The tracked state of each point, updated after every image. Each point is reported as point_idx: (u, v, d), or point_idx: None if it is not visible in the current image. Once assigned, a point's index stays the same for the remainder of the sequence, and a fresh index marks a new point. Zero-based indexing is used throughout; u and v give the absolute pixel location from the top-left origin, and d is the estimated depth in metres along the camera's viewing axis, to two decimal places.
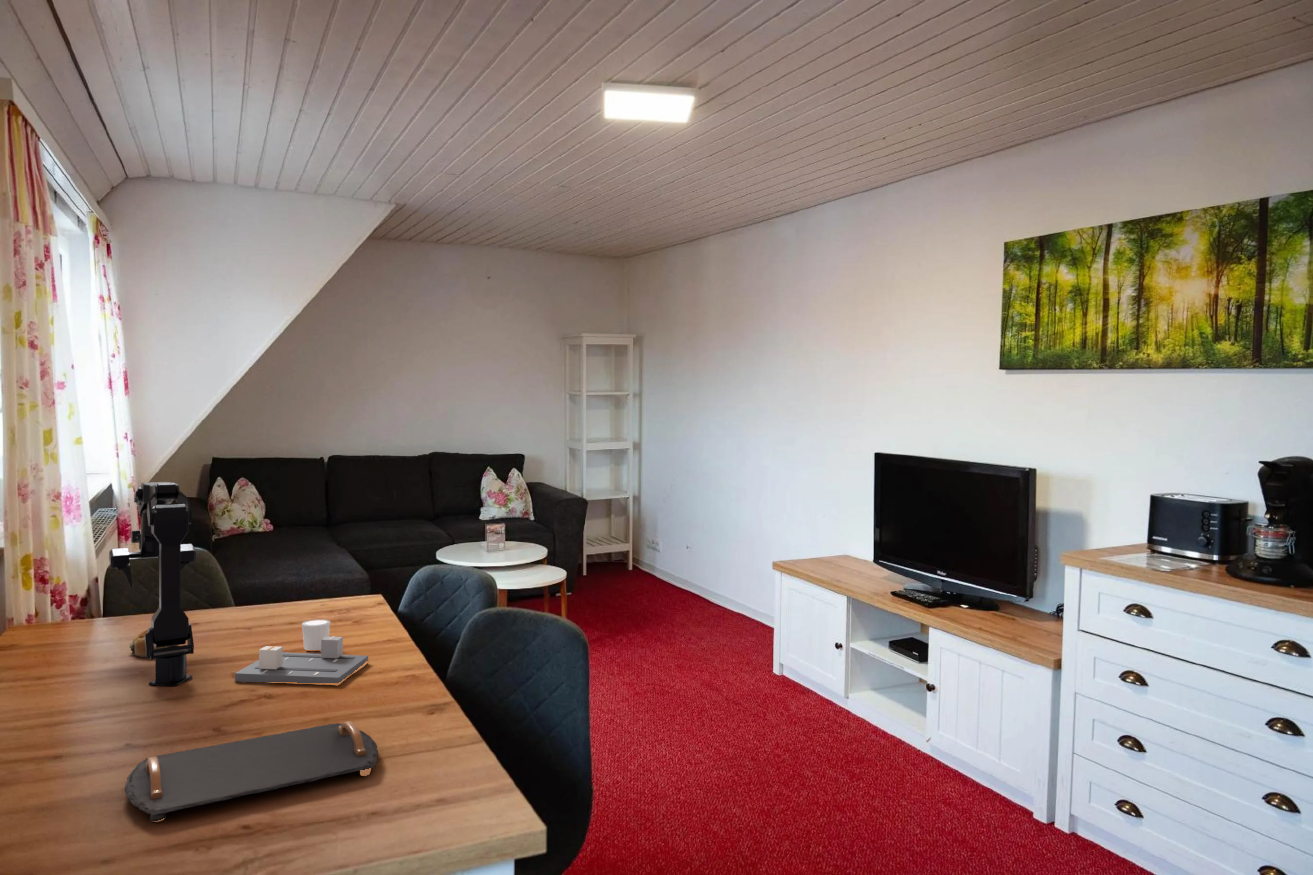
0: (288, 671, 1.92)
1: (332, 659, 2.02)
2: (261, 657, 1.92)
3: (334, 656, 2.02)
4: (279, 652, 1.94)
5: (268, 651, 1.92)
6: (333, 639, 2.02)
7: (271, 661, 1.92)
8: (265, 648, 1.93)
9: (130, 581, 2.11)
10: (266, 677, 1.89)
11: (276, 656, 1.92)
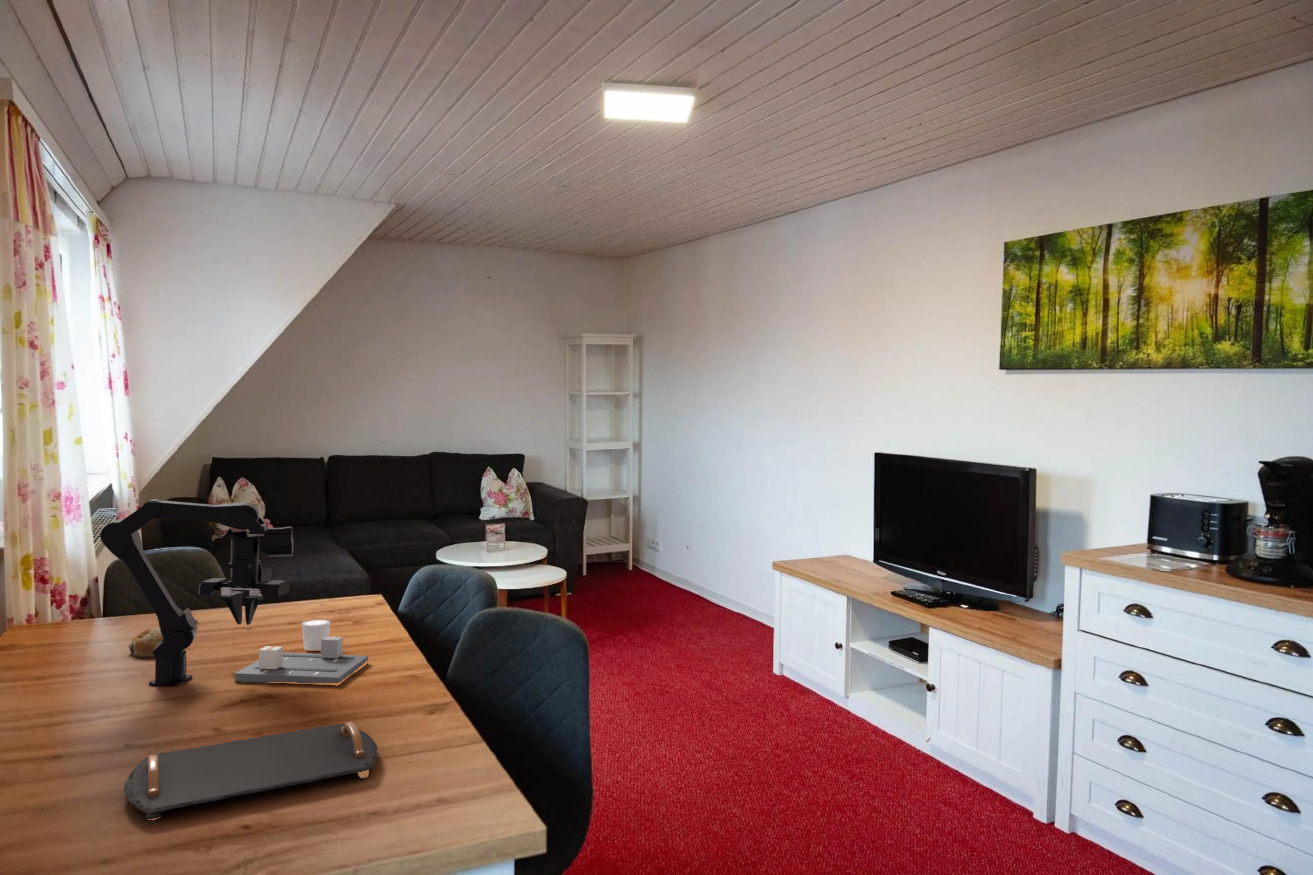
0: (288, 671, 1.92)
1: (332, 659, 2.02)
2: (261, 657, 1.92)
3: (334, 656, 2.02)
4: (279, 652, 1.94)
5: (268, 651, 1.92)
6: (333, 639, 2.02)
7: (271, 661, 1.92)
8: (265, 648, 1.93)
9: (234, 615, 1.92)
10: (266, 677, 1.89)
11: (276, 656, 1.92)
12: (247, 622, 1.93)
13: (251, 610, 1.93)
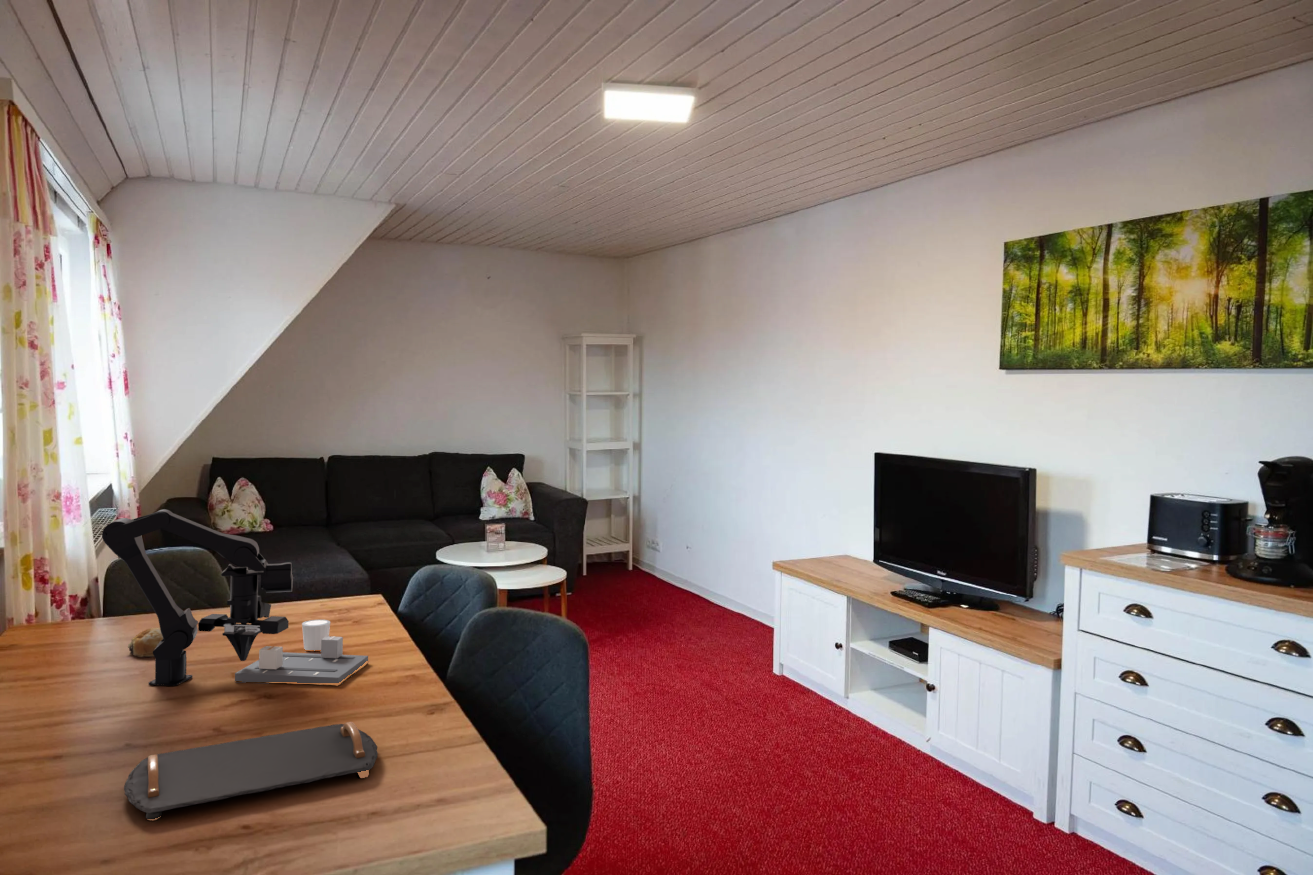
0: (288, 671, 1.92)
1: (332, 659, 2.02)
2: (261, 657, 1.92)
3: (334, 656, 2.02)
4: (279, 652, 1.94)
5: (268, 651, 1.92)
6: (333, 639, 2.02)
7: (271, 661, 1.92)
8: (265, 648, 1.93)
9: (238, 651, 1.93)
10: (266, 677, 1.89)
11: (276, 656, 1.92)
12: (243, 658, 1.93)
13: (247, 646, 1.93)
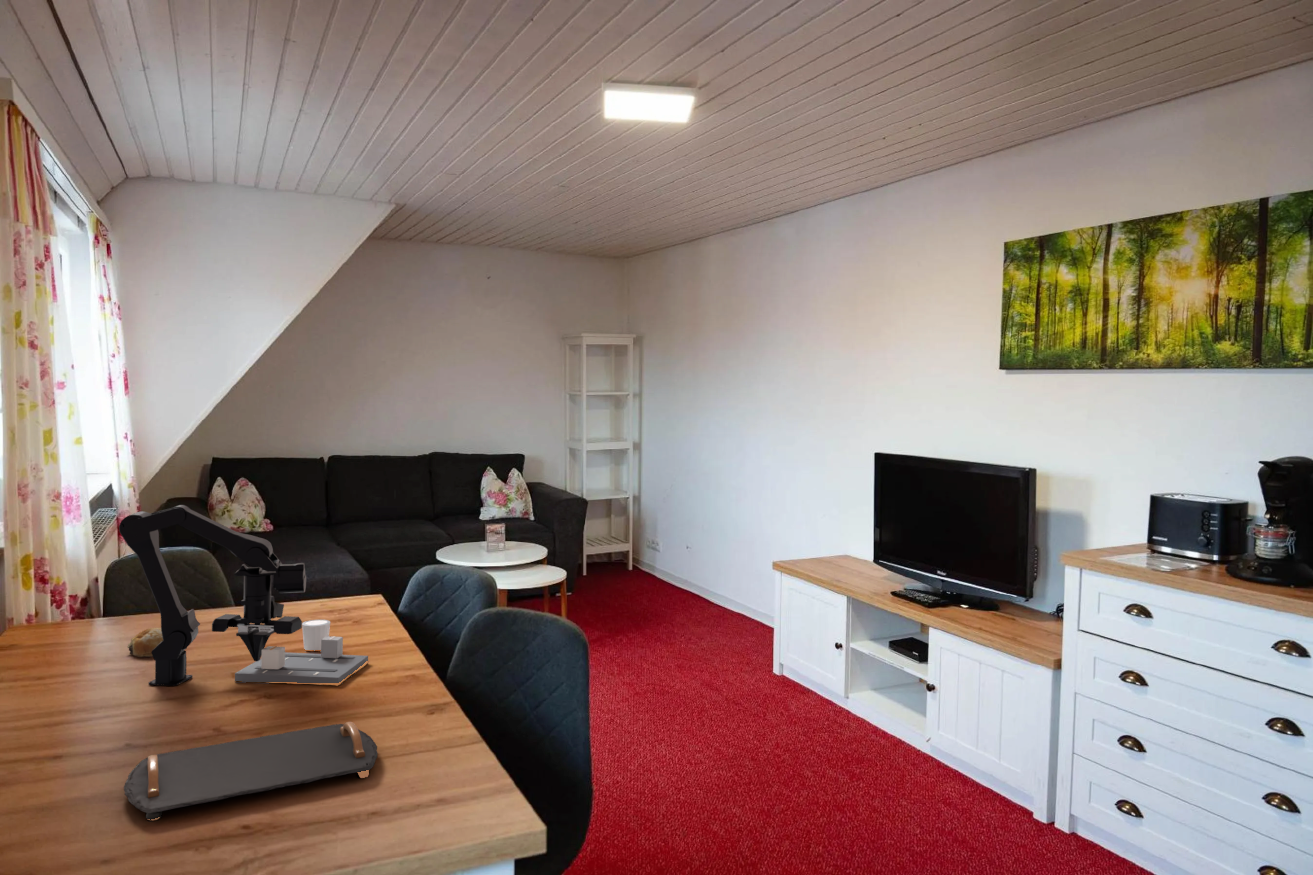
0: (288, 671, 1.92)
1: (332, 659, 2.02)
2: (263, 657, 1.92)
3: (334, 656, 2.02)
4: (282, 652, 1.94)
5: (270, 651, 1.92)
6: (333, 639, 2.02)
7: (273, 661, 1.92)
8: (267, 648, 1.93)
9: (251, 652, 1.93)
10: (266, 677, 1.89)
11: (279, 656, 1.92)
12: (256, 658, 1.93)
13: (260, 646, 1.93)
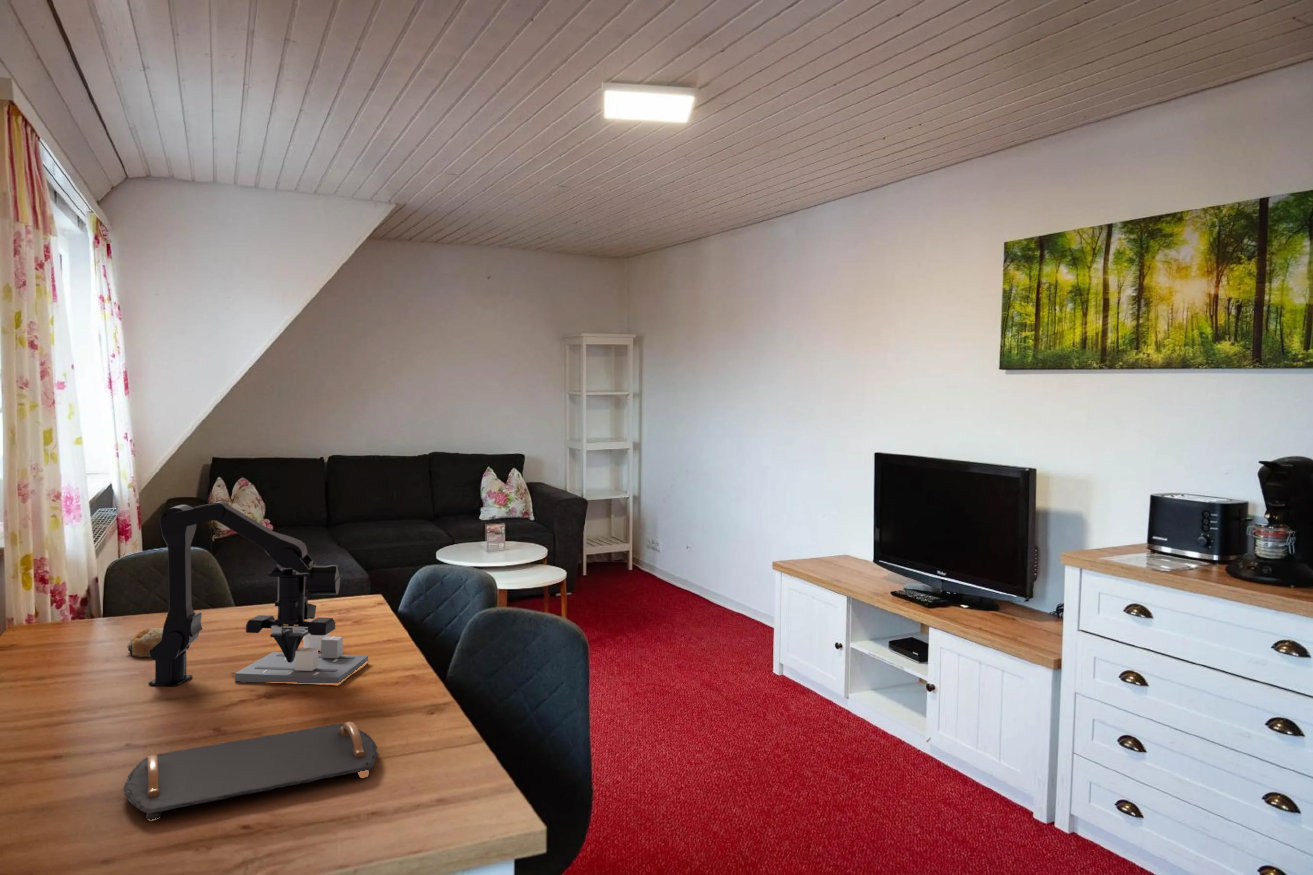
0: (288, 671, 1.92)
1: (332, 659, 2.02)
2: (297, 658, 1.92)
3: (334, 656, 2.02)
4: (315, 653, 1.93)
5: (304, 652, 1.92)
6: (333, 639, 2.02)
7: (307, 662, 1.92)
8: (301, 649, 1.93)
9: (285, 653, 1.92)
10: (266, 677, 1.89)
11: (312, 657, 1.92)
12: (290, 660, 1.93)
13: (294, 648, 1.92)
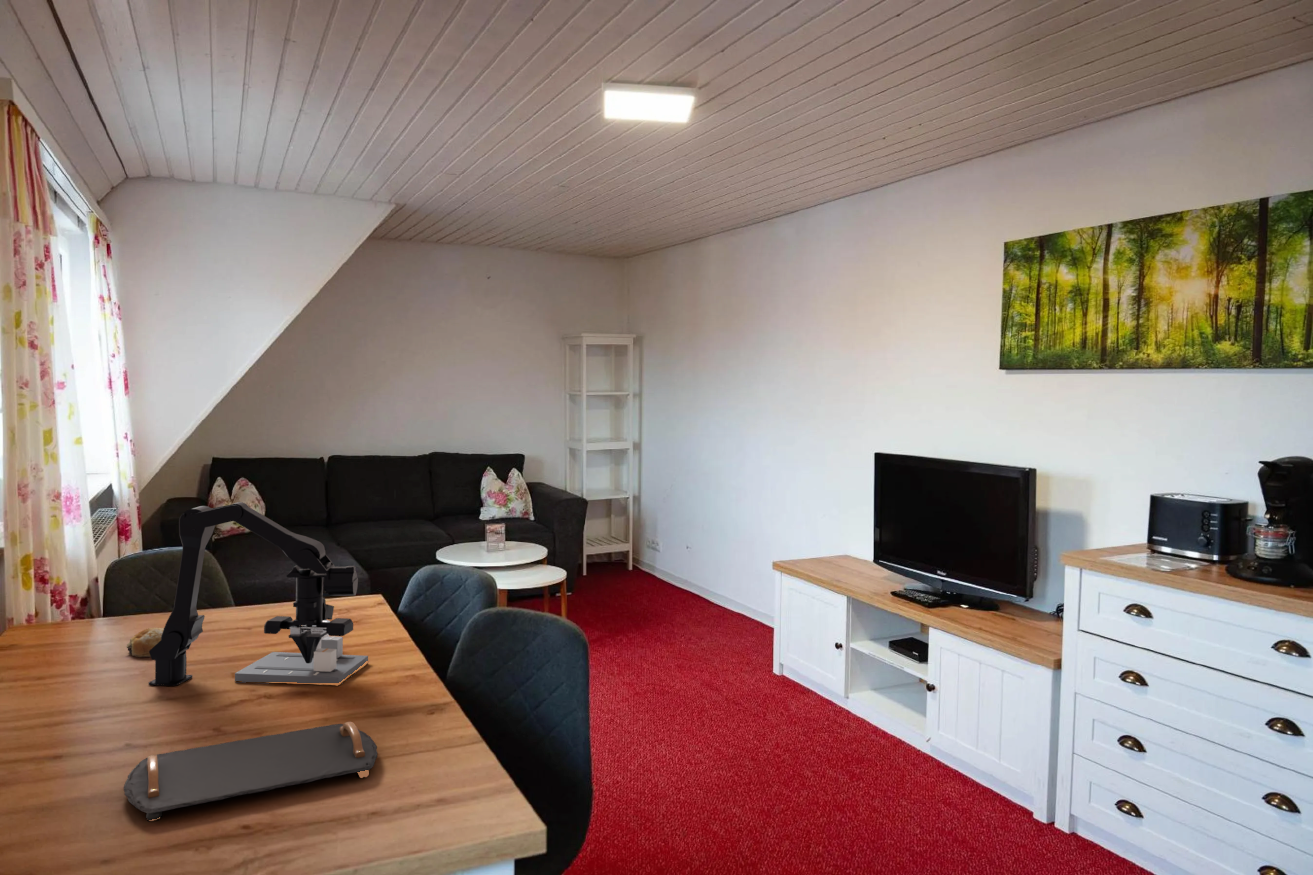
0: (288, 671, 1.92)
1: None
2: (316, 659, 1.92)
3: None
4: (334, 654, 1.93)
5: (323, 653, 1.92)
6: (333, 639, 2.02)
7: (326, 663, 1.92)
8: (319, 650, 1.93)
9: (303, 654, 1.92)
10: (266, 677, 1.89)
11: (331, 658, 1.92)
12: (308, 660, 1.93)
13: (312, 648, 1.92)
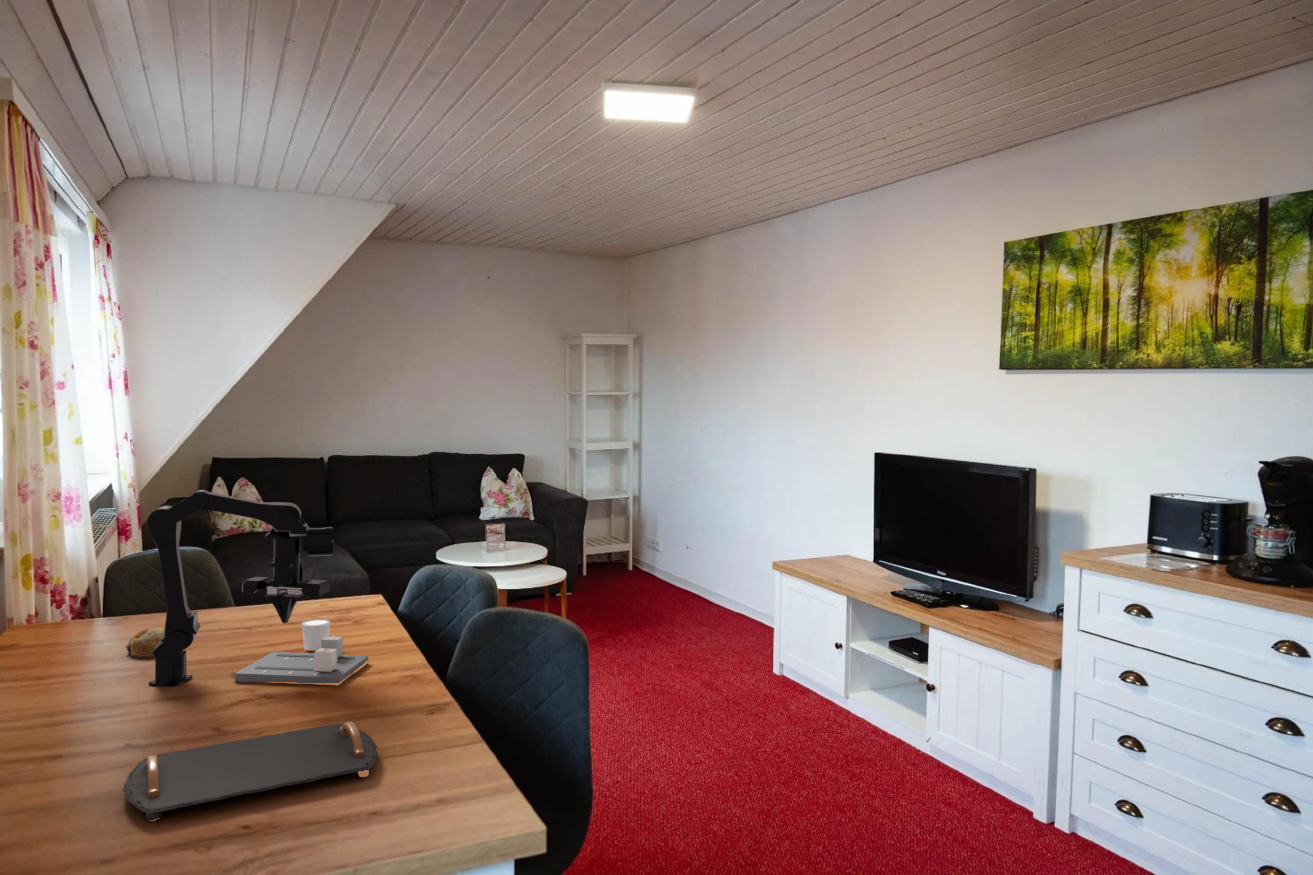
0: (288, 671, 1.92)
1: None
2: (316, 659, 1.92)
3: None
4: (334, 654, 1.93)
5: (323, 653, 1.92)
6: (333, 639, 2.02)
7: (326, 663, 1.92)
8: (320, 650, 1.93)
9: (280, 613, 1.96)
10: (266, 677, 1.89)
11: (331, 658, 1.92)
12: (285, 620, 1.96)
13: (289, 609, 1.96)
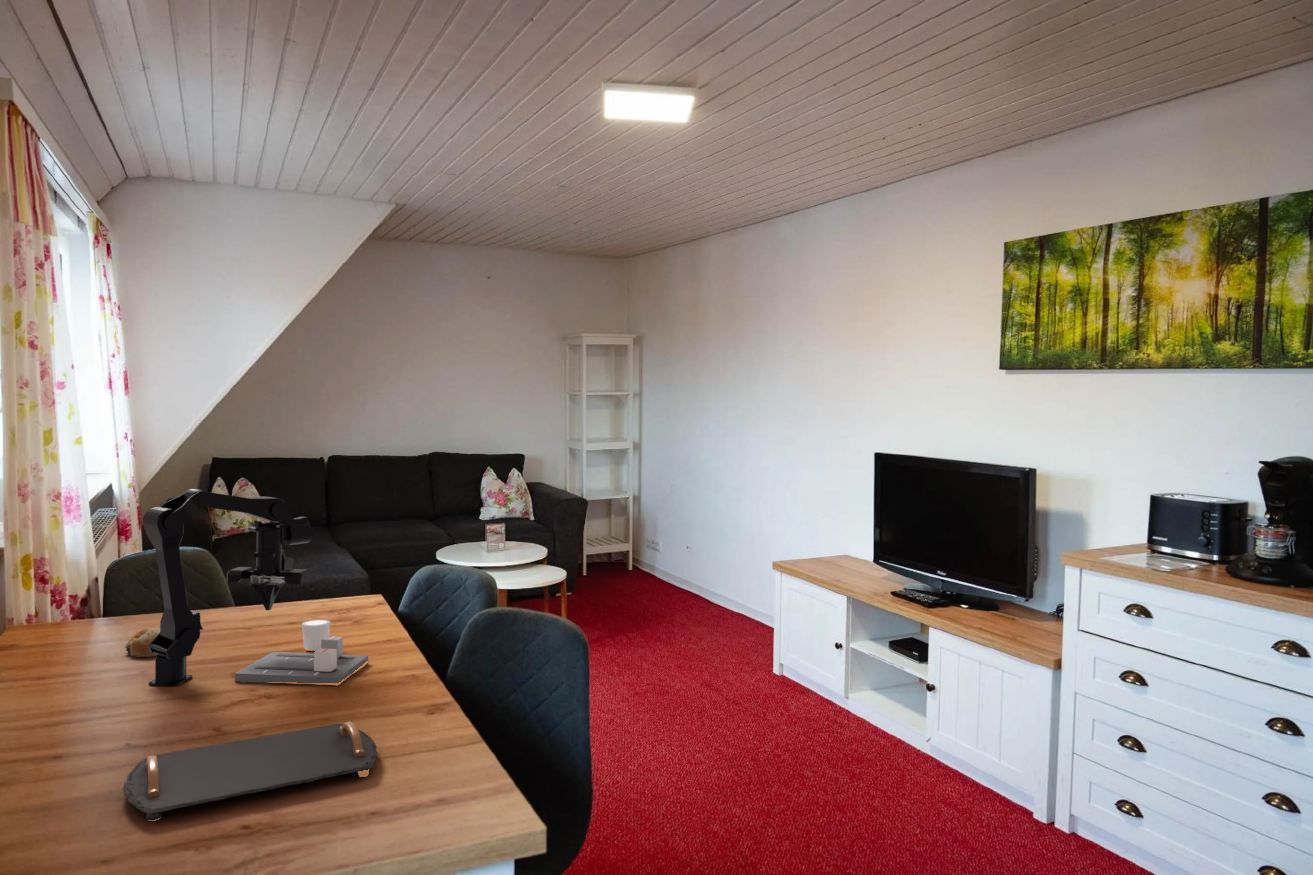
0: (288, 671, 1.92)
1: None
2: (316, 659, 1.92)
3: None
4: (334, 654, 1.93)
5: (323, 653, 1.92)
6: (333, 639, 2.02)
7: (326, 663, 1.92)
8: (320, 650, 1.93)
9: (263, 601, 2.06)
10: (266, 677, 1.89)
11: (331, 658, 1.92)
12: (268, 608, 2.07)
13: (272, 596, 2.07)
